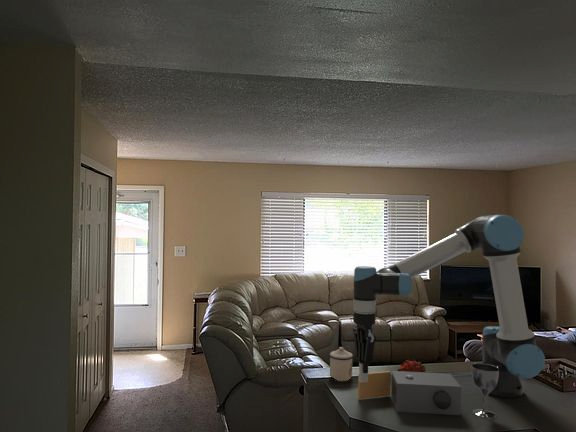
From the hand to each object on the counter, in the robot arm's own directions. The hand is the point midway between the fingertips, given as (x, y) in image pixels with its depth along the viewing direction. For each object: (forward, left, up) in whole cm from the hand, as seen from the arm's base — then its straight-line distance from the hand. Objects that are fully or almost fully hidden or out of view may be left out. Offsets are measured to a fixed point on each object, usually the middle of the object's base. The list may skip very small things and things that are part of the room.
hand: (363, 381), depth 148 cm
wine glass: (-38, +5, -7) cm, 39 cm away
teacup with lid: (+7, -23, -7) cm, 25 cm away
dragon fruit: (-20, -22, -7) cm, 30 cm away
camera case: (-20, +1, -6) cm, 21 cm away
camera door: (-4, -3, -6) cm, 8 cm away
